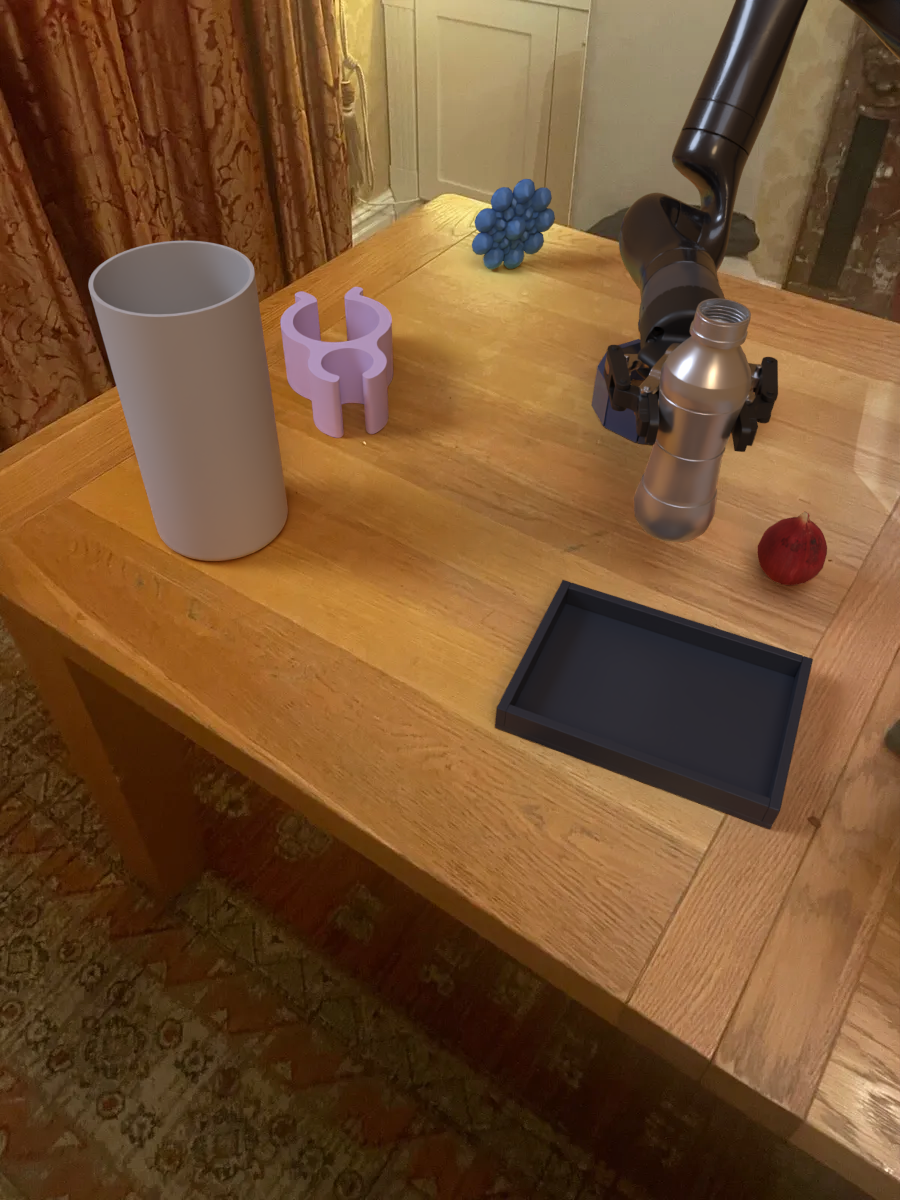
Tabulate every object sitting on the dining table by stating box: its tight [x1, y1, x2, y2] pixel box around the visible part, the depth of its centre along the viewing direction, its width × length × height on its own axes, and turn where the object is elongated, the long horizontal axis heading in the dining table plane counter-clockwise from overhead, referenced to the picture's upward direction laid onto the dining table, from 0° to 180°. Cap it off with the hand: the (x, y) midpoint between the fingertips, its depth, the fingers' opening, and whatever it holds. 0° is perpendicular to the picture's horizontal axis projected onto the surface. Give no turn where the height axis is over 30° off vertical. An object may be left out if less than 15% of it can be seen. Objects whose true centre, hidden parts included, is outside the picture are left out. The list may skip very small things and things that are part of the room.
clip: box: [279, 286, 394, 439], centre depth 103 cm, size 20×12×7 cm, turn 12°
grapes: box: [471, 178, 556, 270], centre depth 123 cm, size 12×7×12 cm, turn 106°
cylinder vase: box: [87, 240, 289, 562], centre depth 79 cm, size 12×12×25 cm
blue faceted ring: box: [591, 338, 653, 446], centre depth 101 cm, size 14×14×5 cm
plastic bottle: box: [633, 298, 752, 544], centre depth 70 cm, size 6×7×20 cm
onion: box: [756, 510, 828, 586], centre depth 81 cm, size 6×6×8 cm
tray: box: [494, 579, 814, 830], centre depth 73 cm, size 22×16×3 cm
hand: (698, 437), depth 68 cm, fingers closed on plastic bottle, 6 cm apart
